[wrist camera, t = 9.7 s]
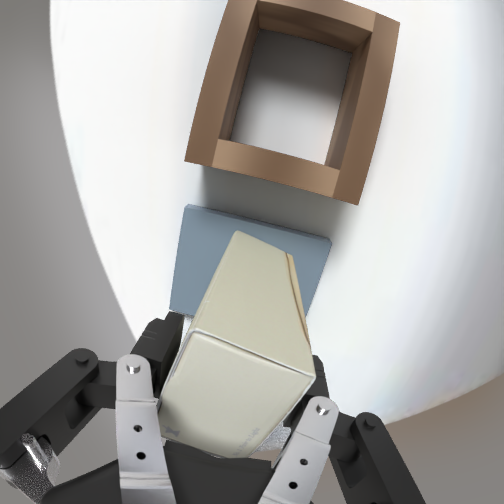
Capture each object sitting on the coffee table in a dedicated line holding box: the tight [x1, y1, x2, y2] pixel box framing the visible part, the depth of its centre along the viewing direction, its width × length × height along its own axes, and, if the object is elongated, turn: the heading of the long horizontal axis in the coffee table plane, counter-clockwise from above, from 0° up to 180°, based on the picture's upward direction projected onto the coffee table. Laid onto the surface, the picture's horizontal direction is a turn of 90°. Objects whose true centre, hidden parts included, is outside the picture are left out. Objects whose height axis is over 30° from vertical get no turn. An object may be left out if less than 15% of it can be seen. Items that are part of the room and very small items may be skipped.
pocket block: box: [184, 0, 400, 205], centre depth 15 cm, size 9×11×4 cm
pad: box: [169, 204, 332, 317], centre depth 21 cm, size 10×8×1 cm
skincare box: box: [156, 230, 316, 458], centre depth 15 cm, size 6×4×12 cm
